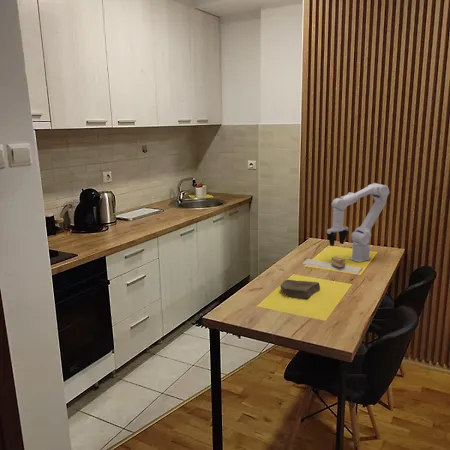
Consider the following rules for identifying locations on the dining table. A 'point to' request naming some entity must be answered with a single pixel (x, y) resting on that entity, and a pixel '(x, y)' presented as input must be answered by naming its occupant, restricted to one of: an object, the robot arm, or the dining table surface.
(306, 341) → the dining table surface
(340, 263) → the block
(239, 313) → the dining table surface
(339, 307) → the dining table surface
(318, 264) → the baseboard
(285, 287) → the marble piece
